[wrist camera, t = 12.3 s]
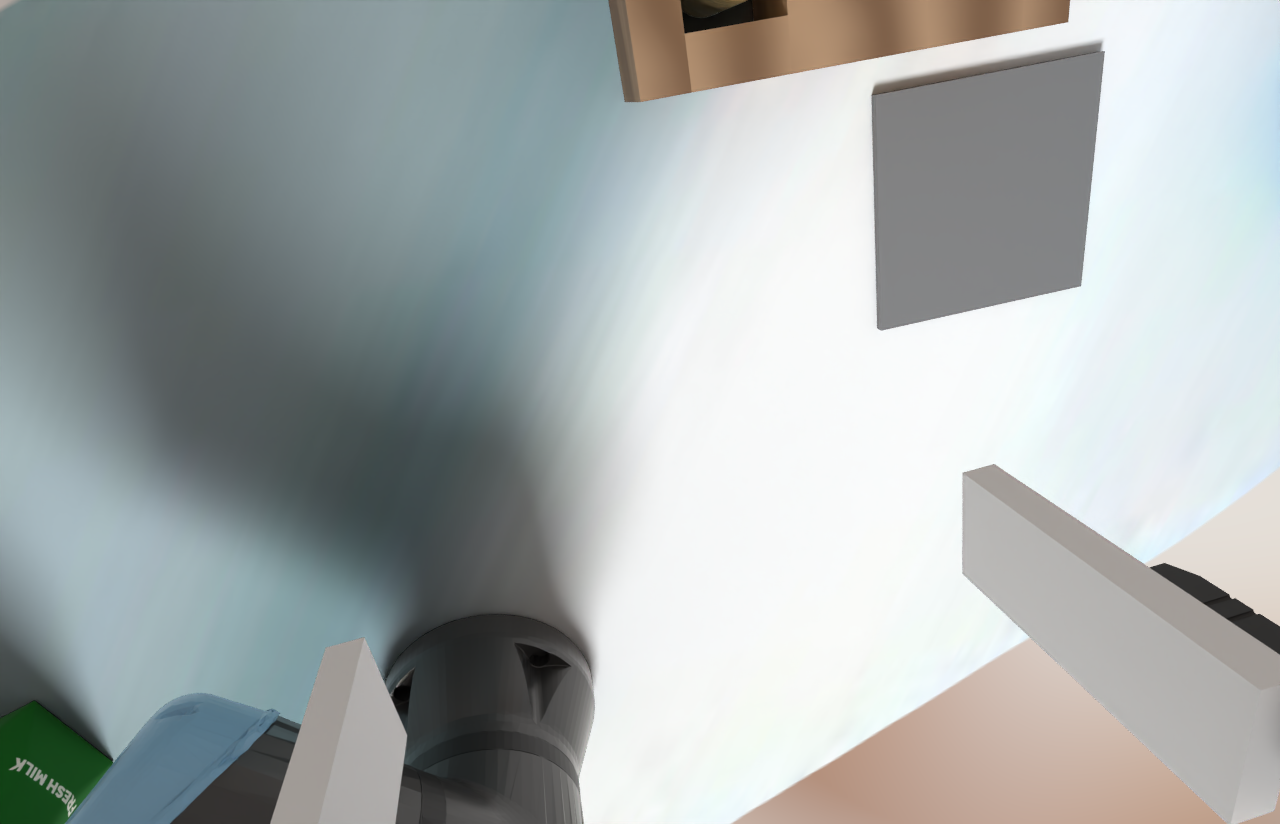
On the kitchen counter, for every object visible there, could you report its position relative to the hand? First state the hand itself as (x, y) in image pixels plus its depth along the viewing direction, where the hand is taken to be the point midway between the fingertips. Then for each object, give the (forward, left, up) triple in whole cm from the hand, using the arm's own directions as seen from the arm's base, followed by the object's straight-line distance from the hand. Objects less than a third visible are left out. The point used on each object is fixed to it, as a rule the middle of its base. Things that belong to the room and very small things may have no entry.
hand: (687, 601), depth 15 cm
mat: (+26, 0, -29) cm, 39 cm away
